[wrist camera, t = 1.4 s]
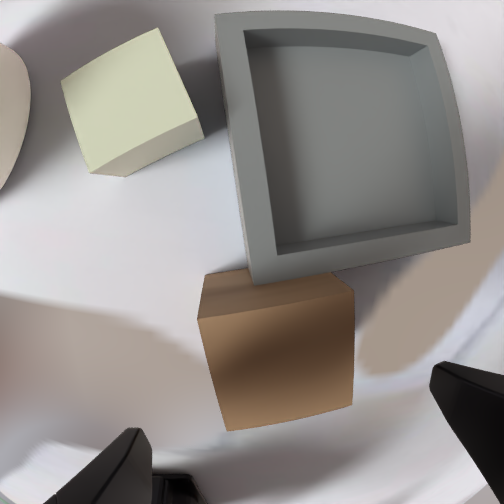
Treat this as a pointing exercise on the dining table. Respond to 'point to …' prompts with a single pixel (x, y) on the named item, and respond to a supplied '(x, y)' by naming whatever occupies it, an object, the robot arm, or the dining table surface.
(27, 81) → the cup
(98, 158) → the sage cube
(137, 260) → the dining table surface
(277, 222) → the tray
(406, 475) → the dining table surface
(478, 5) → the dining table surface
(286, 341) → the walnut cube
